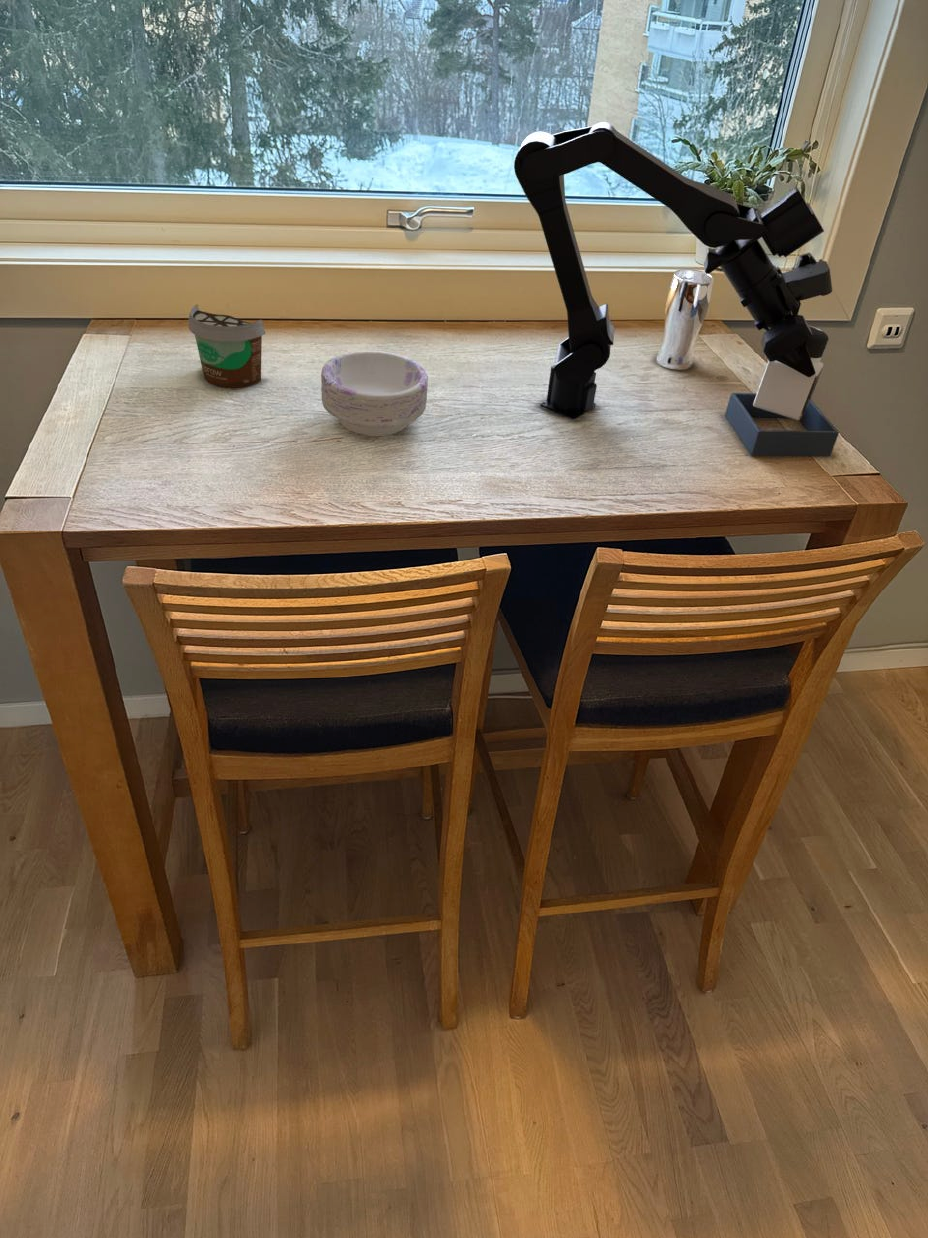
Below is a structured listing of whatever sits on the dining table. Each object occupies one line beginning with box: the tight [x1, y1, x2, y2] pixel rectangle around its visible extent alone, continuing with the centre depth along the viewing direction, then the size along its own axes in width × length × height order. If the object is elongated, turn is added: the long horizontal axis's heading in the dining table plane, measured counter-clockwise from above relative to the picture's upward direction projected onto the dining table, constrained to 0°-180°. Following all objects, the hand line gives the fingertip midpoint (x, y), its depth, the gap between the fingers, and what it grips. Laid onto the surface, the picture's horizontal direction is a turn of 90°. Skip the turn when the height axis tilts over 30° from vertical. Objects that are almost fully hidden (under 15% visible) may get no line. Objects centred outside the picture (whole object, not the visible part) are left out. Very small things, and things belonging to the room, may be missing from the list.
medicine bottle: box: [753, 325, 830, 421], centre depth 132 cm, size 7×7×12 cm
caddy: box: [724, 392, 840, 457], centre depth 137 cm, size 12×12×4 cm
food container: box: [187, 303, 267, 389], centre depth 136 cm, size 12×6×10 cm, turn 68°
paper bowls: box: [320, 350, 429, 437], centre depth 130 cm, size 15×15×8 cm
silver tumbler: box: [656, 268, 715, 371], centre depth 152 cm, size 7×7×15 cm
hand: (808, 364), depth 131 cm, fingers closed on medicine bottle, 7 cm apart
